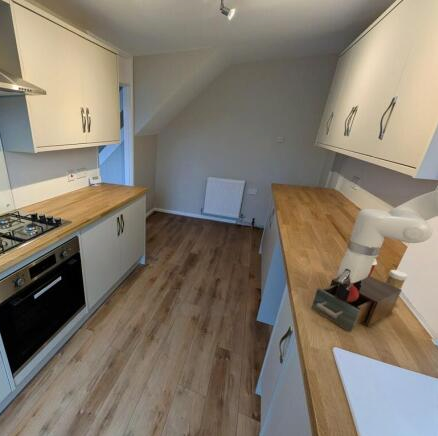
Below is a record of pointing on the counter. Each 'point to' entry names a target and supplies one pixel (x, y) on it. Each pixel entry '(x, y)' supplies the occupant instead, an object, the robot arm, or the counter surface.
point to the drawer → (341, 308)
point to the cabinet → (376, 297)
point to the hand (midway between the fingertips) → (346, 294)
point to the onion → (351, 294)
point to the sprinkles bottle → (396, 278)
